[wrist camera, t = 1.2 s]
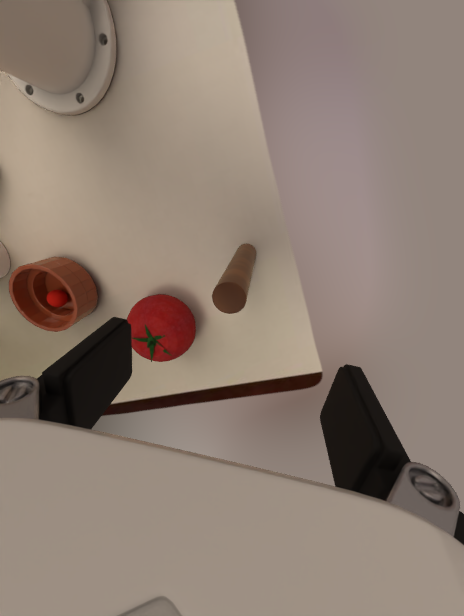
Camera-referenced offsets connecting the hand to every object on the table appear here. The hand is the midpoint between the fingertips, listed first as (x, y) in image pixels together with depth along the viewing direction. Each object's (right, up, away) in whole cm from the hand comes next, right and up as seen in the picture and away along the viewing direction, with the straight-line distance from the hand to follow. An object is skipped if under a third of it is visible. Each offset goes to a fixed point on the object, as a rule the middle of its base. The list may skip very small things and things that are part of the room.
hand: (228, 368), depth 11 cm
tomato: (-8, +2, +25) cm, 27 cm away
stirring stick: (+2, +9, +20) cm, 22 cm away
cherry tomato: (-24, +4, +24) cm, 34 cm away
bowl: (-23, +6, +25) cm, 35 cm away
